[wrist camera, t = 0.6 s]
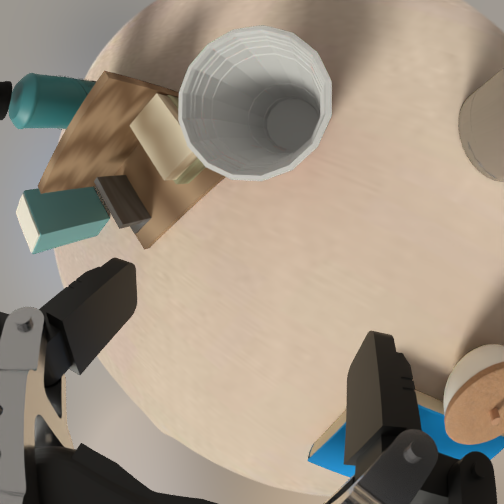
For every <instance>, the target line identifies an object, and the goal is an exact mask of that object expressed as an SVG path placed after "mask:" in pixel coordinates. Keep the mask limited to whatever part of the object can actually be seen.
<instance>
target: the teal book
mask: <svg viewBox="0 0 504 504" xmlns="http://www.w3.org/2000/svg"><path fill="white" fill-rule="evenodd" d="M16 215H17V217H18V220H19V223H20V225H21V228H22V231H23V233H24V236H25V239H26V241H27V244H28V246H29V248H30V251H31V252H32V254H36V253H39V252H43V251H46V250H49V249H52V248H56V247H59V246H63V245H66V244H69V243H73V242H76V241H80V240H83V239H87V238H91V237H94V236H97V235H98V234H99V232H100V231H101V230H102V228H103V227H104V226H105V224H106V223H107V222H108V220H109V219H110V217H109V216H108V214H107V212H106V210H105V208H104V206H103V205H102V203H101V201H100V199H99V197H98V195H97V193H96V191H95V189H94V187H85V188H78V189H70V190H63V191H56V192H49V193H43V194H41V193H40V190H39V188H38V189H33V190H25V191H24V193H23V194H22V196H21V199H20V202H19V205H18V207H17V210H16Z"/></svg>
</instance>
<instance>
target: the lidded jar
mask: <svg viewBox="0 0 504 504" xmlns="http://www.w3.org/2000/svg"><path fill="white" fill-rule="evenodd" d="M444 416H445V418H444V422H445V430H446V433H447V435H448V436H449V437H450V438H451V439H452V440H453V441H455V442H457V443H460V444H466V445H473V444H480V443H484V442H487V441H489V440H492V439H494V438H496V437H498V436H500V435H502V434H503V433H504V346H503V345H499V344H489V345H484V346H480V347H478V348H476V349H473V350H472V351H470V352H469V353H467V354H466V355H465V356H464V357H463V358H462V359H461V360H460V361H459V362H458V363H457V364H456V366H455V367H454V368H453V370H452V372H451V374H450V375H449V378H448V380H447V383H446V387H445V391H444Z"/></svg>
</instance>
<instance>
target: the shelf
mask: <svg viewBox="0 0 504 504" xmlns="http://www.w3.org/2000/svg"><path fill="white" fill-rule="evenodd" d="M178 108H179V92H176V91H173V90H170V89H167V88H164V87H161V86H157V85H154V84H151V83H148V82H144V81H141V80H137V79H134V78H130V77H126V76H123V75H119V74H115V73H111V72H107V71H104V72H103V74H102V75H101V76H100V78H99V79H98V81H97V82H96V83H95V85H94V86H93V88H92V89H91V91H90V92H89V94H88V95H87V97H86V98H85V100H84V101H83V103H82V104H81V106H80V108H79V109H78V111H77V112H76V114H75V116H74V117H73V119H72V121H71V122H70V124H69V126H68V127H67V129H66V131H65V133H64V134H63V136H62V138H61V140H60V142H59V144H58V145H57V147H56V149H55V151H54V153H53V155H52V157H51V159H50V161H49V163H48V165H47V167H46V169H45V172H44V173H43V176H42V178H41V180H40V182H39V185H38V188H39V190H40V193H41V194H43V193H49V192H56V191H63V190H70V189H78V188H85V187H94V186H97V188H98V190H99V192H100V194H101V196H102V198H103V200H104V202H105V203H106V205H107V207H108V209H109V211H110V213H111V214H112V216H113V218H114V220H115V222H116V223H117V225H118V227H119V229H120V228H124V227H128V226H130V227H131V229H132V230H133V232H134V234H135V235H136V236H137V238H138V240H139V241H140V243H141V245H142V246H143V248H144V249H147V248H150V247H151V246H152V245H153V244H154V243H155V242H156V241H157V240H158V239H159V238H160V237H161V236H162V235H163V234H164V233H165V232H166V231H167V230H168V229H169V228H170V227H171V226H172V225H173V224H174V223H176V222H177V221H178V220H179V219H180V218H181V217H182V216H183V215H184V214H185V213H186V212H187V211H188V210H189V209H190V208H192V207H193V206H194V205H195V204H196V203H197V202H198V201H199V200H200V199H201V198H202V197H204V196H205V195H206V194H207V193H208V192H209V191H210V190H211V189H212V188H214V187H215V186H216V185H217V184H218V183H219V182H220V181H221V180H223V179H224V178H225V176H223V175H221V174H219V173H217V172H215V171H213V170H211V169H209V168H207V167H205V166H204V164H203V163H202V162H201V161H200V160H199V159H198V158H197V156H196V155H195V154H194V153H193V152H192V151H191V150H190V149H189V147H188V146H187V143H186V140H185V138H184V135H183V132H182V129H181V126H180V124H179V121H178Z"/></svg>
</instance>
